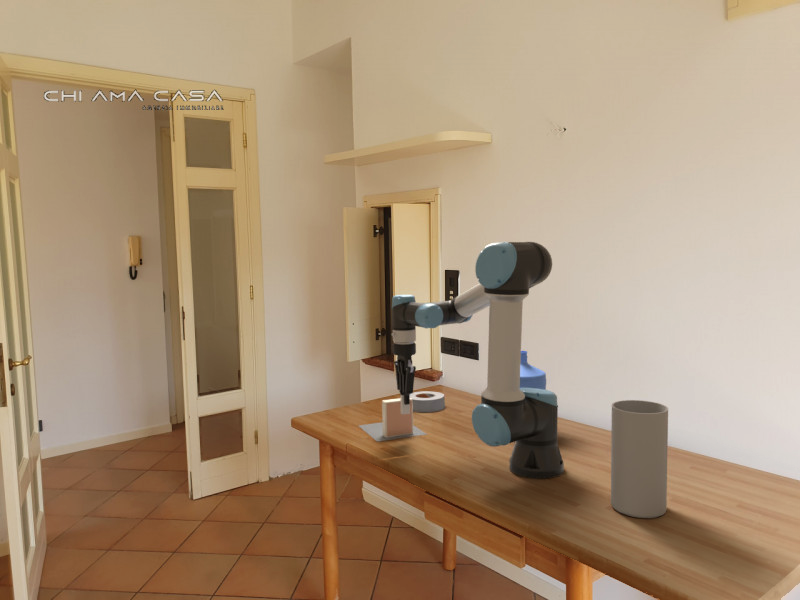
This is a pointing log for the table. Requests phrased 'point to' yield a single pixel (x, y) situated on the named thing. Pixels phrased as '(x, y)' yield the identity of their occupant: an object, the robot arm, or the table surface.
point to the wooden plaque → (396, 418)
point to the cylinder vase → (639, 458)
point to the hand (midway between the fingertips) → (405, 413)
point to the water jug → (531, 374)
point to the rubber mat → (377, 432)
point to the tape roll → (427, 401)
